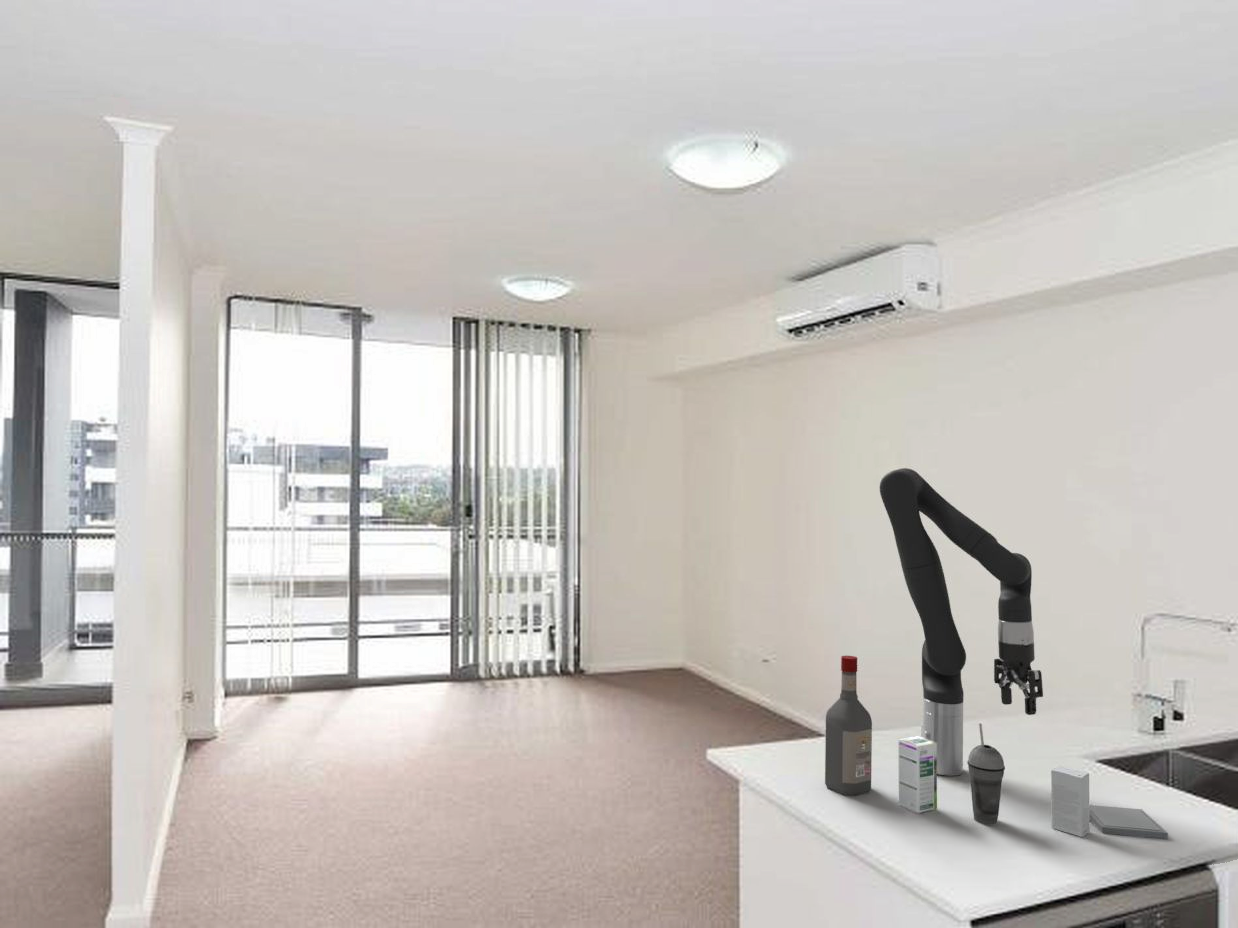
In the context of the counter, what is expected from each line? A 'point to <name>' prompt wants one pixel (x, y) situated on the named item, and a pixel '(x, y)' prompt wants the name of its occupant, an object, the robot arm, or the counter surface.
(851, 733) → the liquor
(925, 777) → the syrup box
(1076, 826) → the skincare box
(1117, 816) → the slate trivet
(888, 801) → the counter surface
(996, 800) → the beverage cup
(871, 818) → the counter surface
